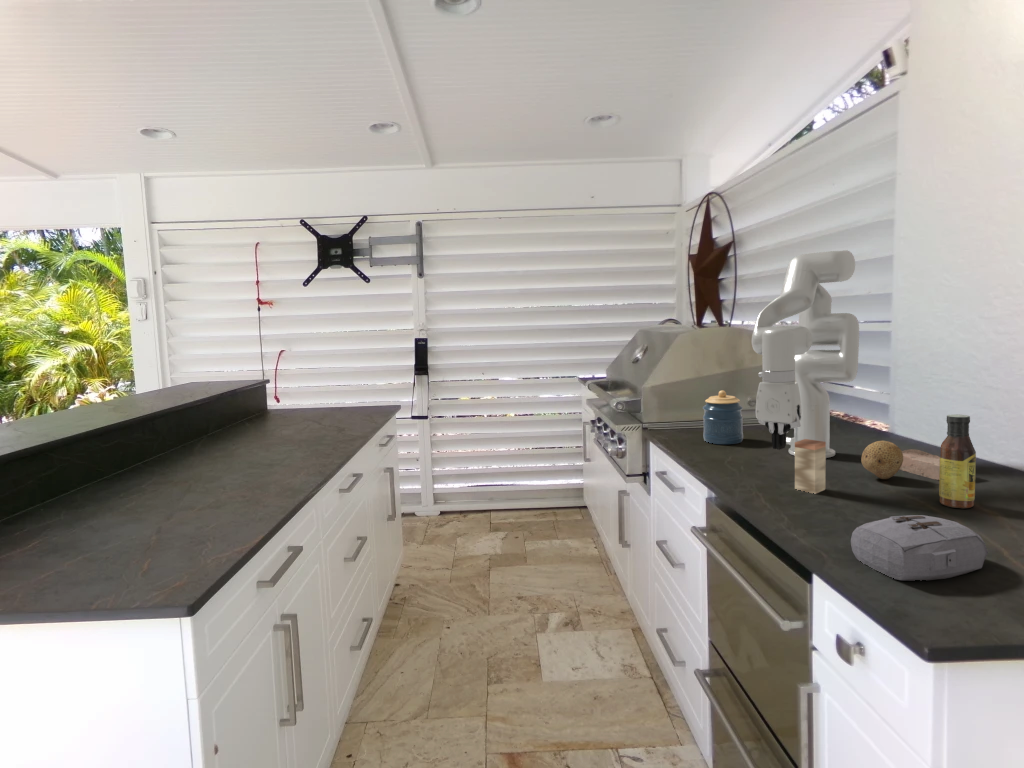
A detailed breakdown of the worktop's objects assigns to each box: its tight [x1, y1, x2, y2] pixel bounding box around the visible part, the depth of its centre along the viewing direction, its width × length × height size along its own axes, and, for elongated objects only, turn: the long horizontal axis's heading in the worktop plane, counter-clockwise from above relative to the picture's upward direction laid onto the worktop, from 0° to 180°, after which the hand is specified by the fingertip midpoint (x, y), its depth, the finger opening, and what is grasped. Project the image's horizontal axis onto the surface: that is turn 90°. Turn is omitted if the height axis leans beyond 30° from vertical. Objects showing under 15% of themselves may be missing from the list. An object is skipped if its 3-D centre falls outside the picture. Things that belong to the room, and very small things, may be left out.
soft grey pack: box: [850, 514, 989, 582], centre depth 101 cm, size 15×8×20 cm
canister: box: [702, 389, 744, 445], centre depth 200 cm, size 13×13×18 cm
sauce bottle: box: [938, 414, 977, 509], centre depth 127 cm, size 7×6×20 cm
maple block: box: [794, 439, 827, 495], centre depth 143 cm, size 5×5×12 cm
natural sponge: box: [860, 440, 903, 480], centre depth 148 cm, size 9×9×10 cm
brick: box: [898, 448, 940, 481], centre depth 152 cm, size 17×8×5 cm, turn 13°
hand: (778, 448), depth 149 cm, fingers closed
